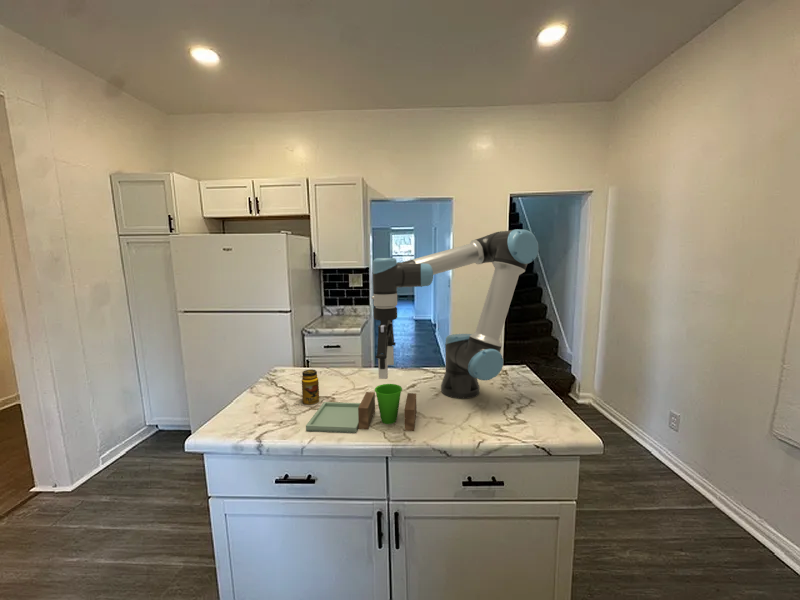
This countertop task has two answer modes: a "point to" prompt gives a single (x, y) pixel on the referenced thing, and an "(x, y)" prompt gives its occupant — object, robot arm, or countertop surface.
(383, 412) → the cup
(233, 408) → the countertop surface
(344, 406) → the tray
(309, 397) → the condiment
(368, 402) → the holder
